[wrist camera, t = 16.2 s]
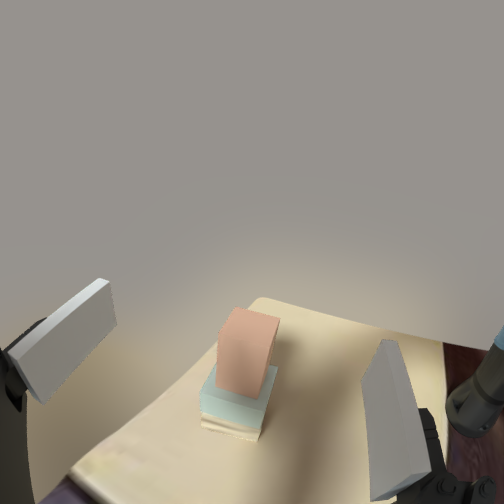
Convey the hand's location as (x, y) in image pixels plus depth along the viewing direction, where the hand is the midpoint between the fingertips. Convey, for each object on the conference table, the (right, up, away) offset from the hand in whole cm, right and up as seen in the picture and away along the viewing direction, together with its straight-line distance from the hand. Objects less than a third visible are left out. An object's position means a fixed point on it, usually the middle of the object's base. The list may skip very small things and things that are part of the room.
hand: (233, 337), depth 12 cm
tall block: (-1, -14, +24) cm, 28 cm away
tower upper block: (-1, -19, +26) cm, 32 cm away
